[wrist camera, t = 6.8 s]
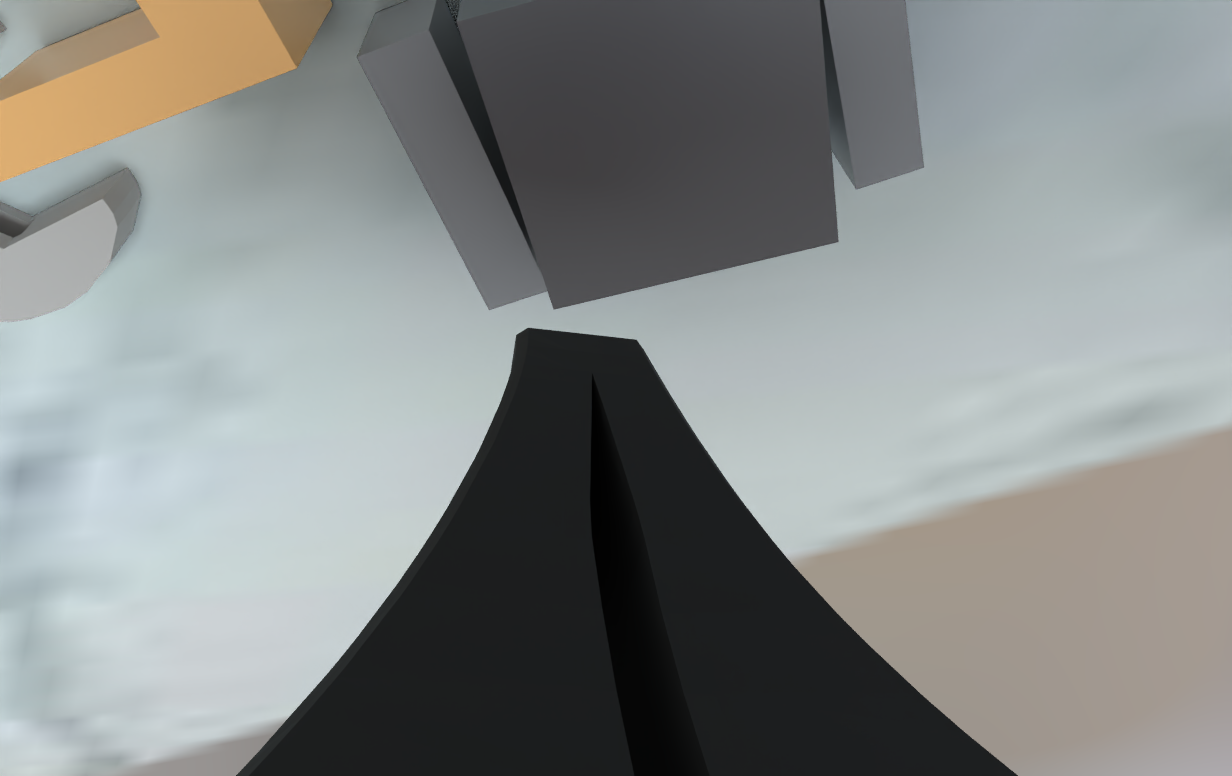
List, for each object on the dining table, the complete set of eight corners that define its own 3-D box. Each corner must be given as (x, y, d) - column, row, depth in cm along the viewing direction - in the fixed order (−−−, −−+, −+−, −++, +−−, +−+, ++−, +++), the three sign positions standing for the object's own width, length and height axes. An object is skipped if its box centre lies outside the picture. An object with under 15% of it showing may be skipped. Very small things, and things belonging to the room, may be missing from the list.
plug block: (760, -124, 14) (813, -75, 12) (791, 153, 18) (838, 241, 15) (469, -44, 15) (456, 22, 12) (550, 212, 18) (554, 309, 15)
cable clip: (845, -170, 14) (888, -146, 12) (884, 116, 17) (923, 167, 15) (375, 13, 15) (356, 57, 13) (492, 249, 18) (488, 309, 17)
